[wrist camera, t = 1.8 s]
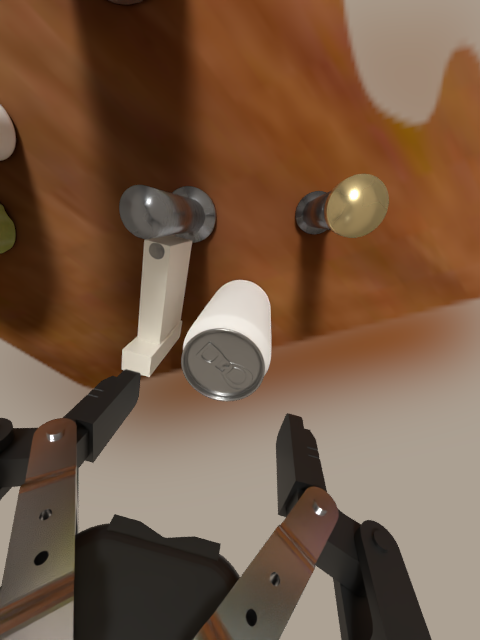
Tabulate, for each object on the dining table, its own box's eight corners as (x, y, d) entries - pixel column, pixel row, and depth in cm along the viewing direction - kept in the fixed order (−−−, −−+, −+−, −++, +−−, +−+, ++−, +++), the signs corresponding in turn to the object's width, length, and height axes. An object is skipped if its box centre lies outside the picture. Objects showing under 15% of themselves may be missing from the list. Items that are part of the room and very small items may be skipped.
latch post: (302, 187, 22) (335, 154, 11) (341, 197, 22) (412, 174, 11) (290, 228, 23) (308, 236, 12) (326, 238, 23) (376, 253, 12)
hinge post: (170, 181, 23) (103, 155, 14) (221, 194, 23) (188, 176, 14) (164, 235, 25) (103, 244, 16) (211, 247, 25) (177, 263, 16)
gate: (170, 234, 23) (127, 240, 16) (194, 241, 23) (162, 250, 16) (159, 331, 27) (121, 369, 20) (179, 336, 27) (149, 377, 20)
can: (243, 343, 29) (226, 420, 18) (201, 307, 27) (156, 366, 16) (283, 307, 26) (293, 369, 15) (239, 266, 25) (216, 301, 14)
